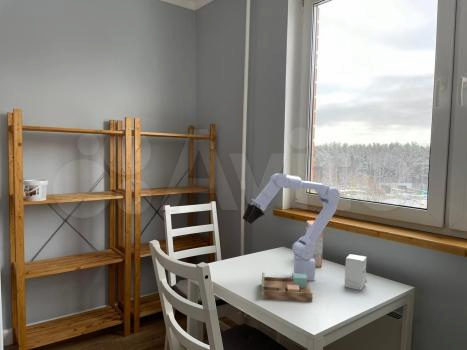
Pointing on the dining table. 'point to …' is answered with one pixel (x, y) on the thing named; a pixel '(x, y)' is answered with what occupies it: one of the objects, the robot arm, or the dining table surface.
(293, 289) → the clay block
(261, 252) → the dining table surface
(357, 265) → the supplement box
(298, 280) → the teal block
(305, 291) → the brown wooden tray
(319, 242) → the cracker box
